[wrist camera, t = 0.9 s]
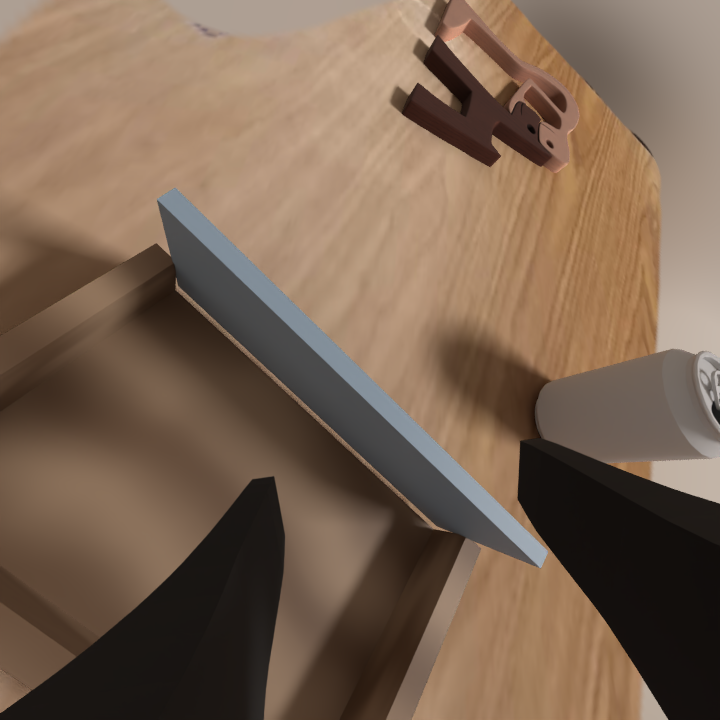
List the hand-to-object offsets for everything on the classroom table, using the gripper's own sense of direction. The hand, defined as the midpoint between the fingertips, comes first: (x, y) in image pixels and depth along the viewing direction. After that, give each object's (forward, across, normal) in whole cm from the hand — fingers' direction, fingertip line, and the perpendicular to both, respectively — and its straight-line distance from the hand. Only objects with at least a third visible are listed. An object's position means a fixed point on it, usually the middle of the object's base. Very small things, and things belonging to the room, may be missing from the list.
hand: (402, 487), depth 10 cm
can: (+19, -18, +10) cm, 28 cm away
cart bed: (+8, +8, +6) cm, 13 cm away
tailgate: (+11, +3, +2) cm, 12 cm away
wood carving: (+42, -24, -21) cm, 53 cm away
